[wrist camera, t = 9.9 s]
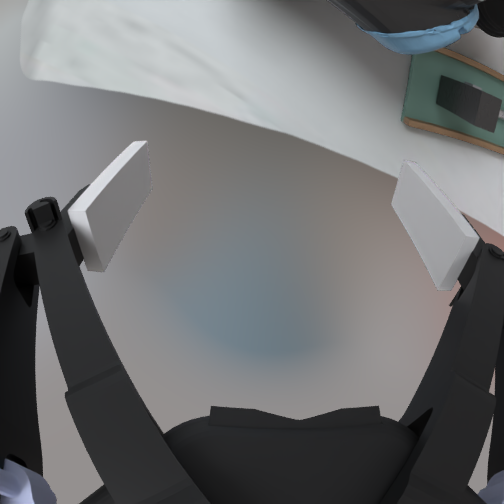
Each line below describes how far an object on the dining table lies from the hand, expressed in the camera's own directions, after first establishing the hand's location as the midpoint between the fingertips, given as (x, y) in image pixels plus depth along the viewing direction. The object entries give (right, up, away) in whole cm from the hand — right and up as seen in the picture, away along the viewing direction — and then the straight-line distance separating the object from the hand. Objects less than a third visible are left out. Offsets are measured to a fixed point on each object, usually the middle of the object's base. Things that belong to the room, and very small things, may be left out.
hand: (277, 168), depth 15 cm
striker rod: (+38, +20, +21) cm, 48 cm away
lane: (+36, +21, +22) cm, 47 cm away
